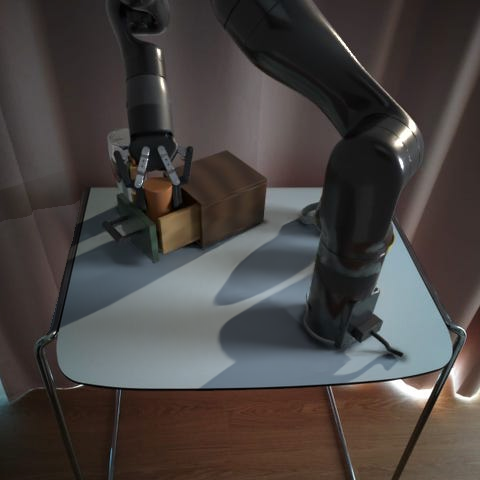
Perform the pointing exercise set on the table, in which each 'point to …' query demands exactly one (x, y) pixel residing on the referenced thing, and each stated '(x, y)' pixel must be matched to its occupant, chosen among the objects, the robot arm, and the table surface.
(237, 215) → the cabinet
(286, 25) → the robot arm
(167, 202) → the orange cylinder
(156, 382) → the table surface
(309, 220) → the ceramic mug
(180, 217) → the drawer
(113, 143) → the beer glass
